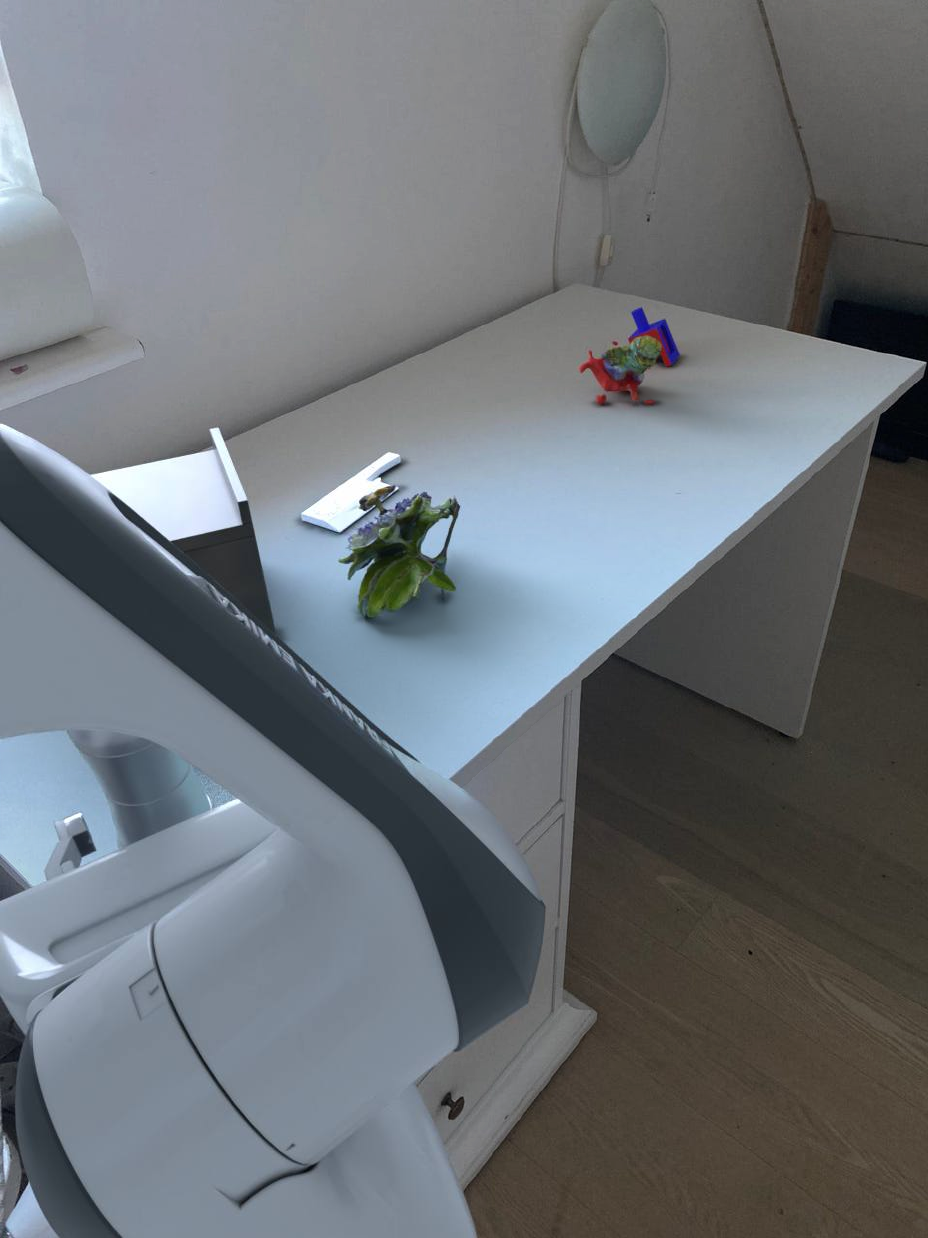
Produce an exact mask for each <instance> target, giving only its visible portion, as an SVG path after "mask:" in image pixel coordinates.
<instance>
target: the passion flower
mask: <svg viewBox="0 0 928 1238" xmlns="http://www.w3.org/2000/svg"><path fill="white" fill-rule="evenodd" d="M390 485H391V486H387V487H384V488H380V489H377V490H376V491H375V492H374V493H373V492H371V493H370V494H369V495H365V496H364V497H362V498H361V499H360V500H359V504H360V506H359V507H358V508H359V509H362V510H363V511H367V510H369V509H370V508H372V507H373V506H374V505H375V507H376V508H377V509H378V511H379V514H378V517H376V516H374V520H371V521H369V520H368V521H367V523H366V522H365V524H363V525H362V526H361V527H358V528H356V530H357V531H356V532H357V533H355V534H352V535H349V537H348V538H347V541H348V543H349V544H348V545H347V547H346V549H348V550H349V551H352V552H351V553H350V554H349V555H347V556H346V557H342V558H339V559H338V561H337V562H338V563H340V564H343V565H349V564H350V567H349V569H348V572H347V580H348V581H351V579H352V577H353V576H354V575H355V574H356V572H359V571H360V570H363V569H365V568H366V567H367V569H366V573H365V574H364V575H363V578H362V580H361V582H360V587H359V592H358V595H357V597H358V605H357V608H358V611H359V613H360V614H361V615H362V617H364V618H366V616H367V617H368V618H374V617H377V616H379V615H381V614H383V613H384V612H396V611H397V610H399V609H401V608H402V607H404V606H405V605H406V604H407V603H408V602H409V601H411V600H412V597H413V598H415V599H418V598H419V597H420V594H421V588H422V585H423V584H424V582H425V580H427V581H428V582H429V583H431V584H432V585H433V586H434V587H437V588H439V589H440V590H441V598H442V600H445V591H448V592H449V591H450V592H456V591H457V586H455V583H454V582H453V581H452V580H451V578H450V577H449V576H448V575H447V574H446V565H447V562H448V556H447V555H448V554H447V553H448V548H449V545H450V542H451V538H452V535H453V534H452V533H453V531H454V528H455V524H456V522H457V520H458V517H459V513H460V509H461V505H460V503H459V501H458V500H457V498H456V495H453V496H452V498H451V497H448V498H447V499H446V501H444V503H442V504H438V505H435V506H433V507H432V506H431V505H432V499H433V498H432V497H433V496H431V495H429V494H428V492H427V491H422V492H421V493H417V494H416V493H415V494H414V495H413V496H412V497H411V499H410V498H403V499H402V501H398V502H396V504H395V506H394V507H393V508H391V509H390V508H389V509H387V508H385V507H384V506H383V505H382V501H381V500H383V499H384V498H385V499H387V498H388V497H389V496H390V495H389V494H390V493H392V492H393V491H394V490H395V489H396V487H397V486H396V484H390ZM393 493H394V492H393ZM393 493H392V494H393ZM388 495H389V496H388ZM387 496H388V497H387ZM386 497H387V498H386ZM385 499H384V500H385ZM384 500H383V501H384ZM373 508H374V507H373ZM373 508H372V509H373ZM369 511H370V510H369ZM450 516H452V520H451V522H450V524H449V528H448V532H447V535H446V538H445V541H444V545H443V548H442V549H441V551H440V552H439V553H438V554H437V555H436V556H435V557H433V558H432V557H430V556H428V555H425V554H424V553H423V552H422V544H423V543H424V541H425V540H426V536H427V534H428V532H429V530H430V529H431V528H433V527H434V526H435V525H436V524H437V523H438V522H440V520H443V519H446V520H448V519H449V518H450ZM372 561H373V562H372ZM371 562H372V563H371Z"/></svg>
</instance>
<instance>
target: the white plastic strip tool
mask: <svg viewBox="0 0 928 1238" xmlns="http://www.w3.org/2000/svg"><path fill="white" fill-rule="evenodd" d="M401 462H402V460H401V455H400V454H397V453H394V452H393V453H392V452H390V451H389V452H387V453H385V454H384V455H383V456H381V457H380V458H378V459H377V460H376V461H374V462H372V463H371V464H370V465H368V466H367V467H365V468H364V469H363V470H361V471H360V472H358V473H357V474H355V475H354V476H353V477H351V478H350V479H348V480H347V481H345V482H344V483H342V484H341V485H339V486H338V487H336V488H335V489H334V490H332V491H330V492H329V493H328V494H326V495H325V496H323V497H322V498H320V499H319V501H317V502H316V503H314V504H312V505H311V506H309V508H307V509H306V510H304V511H303V512H301V514H300V517H301V521H304V522H307V523H310V524H313V525H316V526H319V527H321V528H324V529H327V530H331V531H334V532H337V533H338V534H339V533H342V532H343V531H344V530H346V529H347V528H348V527H350V526H351V525H352V524H354V523H355V522H356V521H358V520H359V519H361V518H362V517H363V516H364V515H365V514H367V513H368V512H370V511H371V510H372V509H373V508H375V507H376V506H375V505H374V506H373V507H372V508H370V509H369V510H367V511H363V510H362V509H359V508H358V507H359V506H360V504H359V500H360V499H361V498H362V497H364V496H365V495H369V494H370V493H371V492H373V493H374V492H375V491H376V490H377V489H380V488H384V487H387V486H391V485H392V484H388V483H386V482H382V479H381V477H379V476H381V474H383V473H385V472H386V471H388V470H390V469H391V468H392V467H394V466H396V465H398V464H400V463H401ZM398 490H399V487H398V486H396V489H395V490H394V491H393V492H392V493H390V494H389V495H388V496H387V497H386V498H384V499H383V500H381V502H383V501H384V500H386V499H387V498H389V497H390V496H391V495H393V493H395V492H396V491H398Z"/></svg>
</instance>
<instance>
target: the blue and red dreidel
mask: <svg viewBox="0 0 928 1238" xmlns="http://www.w3.org/2000/svg"><path fill="white" fill-rule="evenodd" d="M643 308H644V307H642V306H640V307H638V308H636V309H633V310H632V311H631V312H630V314H631V316H632V318H633V320H634V323H635V325H636V330H635V331H634V332H633V333H632V334H631V335H630V336H629V337H628V338H627V340H628V342H629V345H630V344H631V343H632V341H633V340H634V339H635V338H637V337H641V336H645V335H648V336H651V337H654V338H656V339H657V340H658V341H659V342H660V343H661V345H662V349H661V352H660V354H659V355H658V356H657V357H659V356H661V359H662V361H663V364H664V366H665V368H667V367H670V366H672V365H673V364H674V363H675V361H677V359H678V358H679V357H680V352H679V350H678V347H677V345H676V342H675V340H674V337H673V335H672V333H671V332H672V331H671V330H670V327H669V324H668V323H667V320H666V318H663V319H660V320H658V321H656V322H653V323H649V320H648V317H647V316H646V313H645V311H644V309H643Z"/></svg>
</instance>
